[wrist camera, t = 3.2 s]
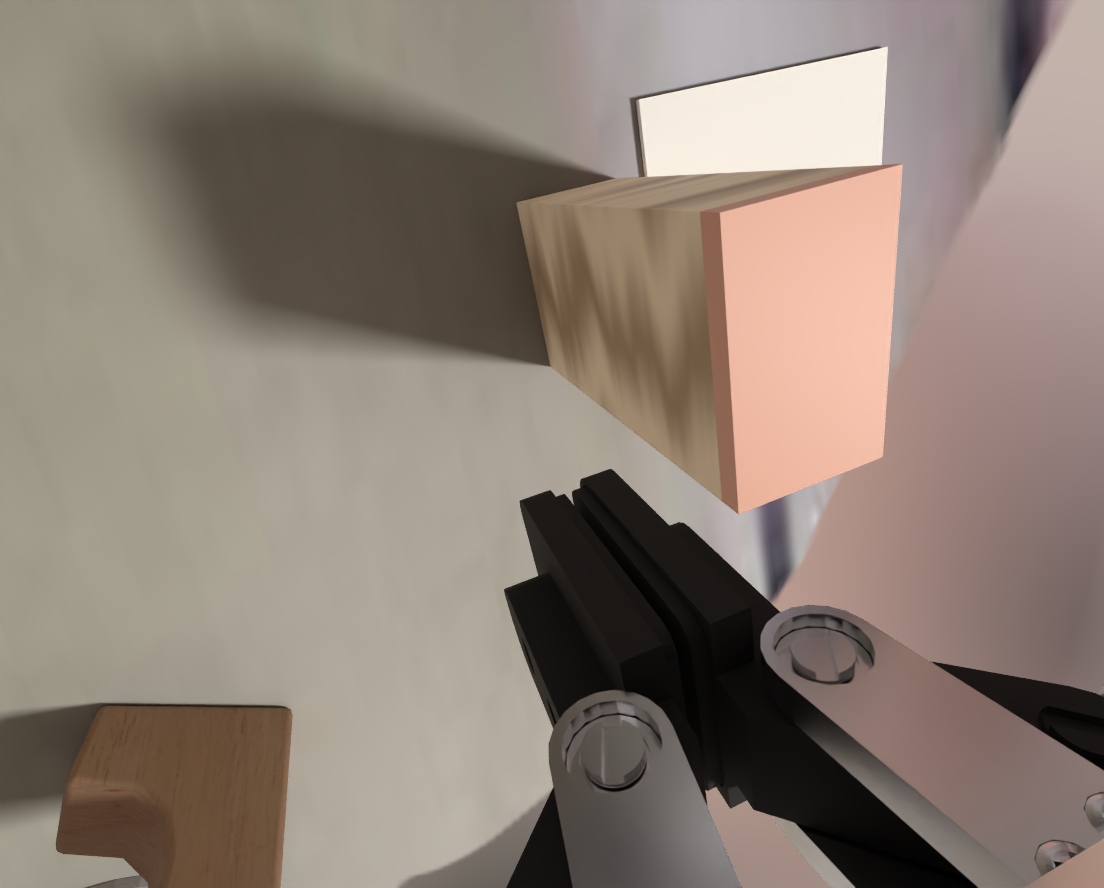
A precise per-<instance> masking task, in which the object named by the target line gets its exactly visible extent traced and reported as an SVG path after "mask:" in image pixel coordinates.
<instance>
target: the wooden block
mask: <svg viewBox="0 0 1104 888" xmlns="http://www.w3.org/2000/svg"><path fill="white" fill-rule="evenodd" d="M291 729H292V713H291V710H290V709H288V708H256V707H175V706H105V707H101V708H100V709H99V711H98V712H97V713H96V714H95V716H94V718H93V721H92V723H91V725H90V727H89V730H88V732H87V734H86V736H85V739H84V741H83V743H82V745H81V747H80V750H79V752H78V754H77V756H76V759H75V761H74V763H73V765H72V768H71V770H70V772H69V774H68V777H67V779H66V782H65V789H64V795H63V801H62V808H61V814H60V820H59V827H58V833H57V839H56V849H57V851H58V852H60V853H63V854H74V855H88V856H102V857H116V858H124V859H125V860H126V861H127V862H128V863H129V864H130V865H131V866H132V868H133V869H134V870H135V871H136V872H137V873H138V874H139V875H140V876H141V877H142V878H143V879H144V880H145V881H146V882H147V883H148V888H280V886H281V872H282V858H283V843H284V828H285V814H286V799H287V784H288V770H289V756H290V743H291Z"/></svg>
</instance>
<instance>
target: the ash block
mask: <svg viewBox="0 0 1104 888" xmlns="http://www.w3.org/2000/svg"><path fill="white" fill-rule="evenodd" d="M902 166H903V164H893V165H873V166H853V167H833V168H814V169H794V170H774V171H754V172H734V173H714V174H694V175H674V176H654V177H634V178H615V179H611V180H607V181H603V182H599V183H594V184H590V185H586V186H582V187H578V188H574V189H570V190H565V191H561V192H557V193H553V194H549V195H545V196H541V197H536V198H532V199H528V200H524V201H520V202H516V204H517V209H518V213H519V218H520V223H521V228H522V233H523V237H524V242H525V247H526V252H527V257H528V261H529V266H530V271H531V276H532V281H533V285H534V290H535V295H536V300H537V305H538V309H539V314H540V319H541V324H542V329H543V333H544V338H545V343H546V348H547V352H548V357H549V362H550V367H552V368H553V369H554V370H555V371H557V372H558V373H559V374H560V375H562V376H563V377H564V378H566V379H567V380H568V381H569V382H571V383H572V384H573V385H575V386H576V387H577V388H578V389H580V390H581V391H582V392H583V393H585V394H586V395H587V396H589V397H590V398H591V399H592V400H594V401H595V402H596V403H597V404H599V405H600V406H601V407H603V408H604V409H605V410H606V411H608V412H609V413H610V414H611V415H613V416H614V417H615V418H617V419H618V420H619V421H620V422H622V423H623V424H624V425H625V426H627V427H628V428H629V429H631V430H632V431H633V432H634V433H636V434H637V435H638V436H640V437H641V438H642V439H643V440H645V441H646V442H647V443H648V444H650V445H651V446H652V447H654V448H655V449H656V450H657V451H659V452H660V453H661V454H662V455H664V456H665V457H666V458H668V459H669V460H670V461H671V462H673V463H674V464H675V465H676V466H678V467H679V468H680V469H682V470H683V471H684V472H685V473H687V474H688V475H689V476H690V477H692V478H693V479H694V480H696V481H697V482H698V483H699V484H701V485H702V486H703V487H705V488H706V489H707V490H708V491H710V492H711V493H712V494H713V495H715V496H716V497H717V498H719V499H720V500H721V501H722V502H724V503H725V504H726V505H727V506H729V507H730V508H731V509H733V510H734V511H735V512H736V513H738V514H741V513H743V512H746V511H748V510H751V509H753V508H756V507H758V506H761V505H763V504H766V503H768V502H771V501H773V500H776V499H778V498H781V497H783V496H786V495H788V494H791V493H793V492H796V491H798V490H801V489H803V488H806V487H808V486H811V485H813V484H816V483H818V482H821V481H823V480H826V479H828V478H831V477H833V476H836V475H838V474H841V473H843V472H846V471H848V470H851V469H853V468H856V467H858V466H861V465H863V464H866V463H868V462H871V461H873V460H876V459H878V458H881V457H883V445H884V430H885V416H886V401H887V386H888V372H889V357H890V342H891V328H892V313H893V298H894V283H895V269H896V254H897V239H898V225H899V210H900V195H901V181H902Z"/></svg>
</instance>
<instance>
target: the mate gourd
mask: <svg viewBox="0 0 1104 888" xmlns="http://www.w3.org/2000/svg"><path fill="white" fill-rule="evenodd" d="M89 888H148V883H147V882H146V881H145V880H144V879H143V878H142V877H141V876H134V877H128V878H122V879H116V880H113V881H109V882H106V883H102V884H99V885H95V886H92V887H89Z"/></svg>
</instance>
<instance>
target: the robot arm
mask: <svg viewBox="0 0 1104 888" xmlns="http://www.w3.org/2000/svg"><path fill="white" fill-rule="evenodd" d="M572 497H573V503H574V505H573V504H572V502H571V501H570V500H569V499H568V497H567V496H566V495H565V494H562V495H560V496H557V497H555V495H554V494H553V493H552V491H551V490H549V491H546V492H543V493H540V494H537V495H535V496H532V497H529V498H526V499H523V500H520V508H521V512H522V516H523V520H524V523H525V527H526V531H527V535H528V538H529V542H530V546H531V550H532V553H533V557H534V561H535V565H536V568H537V572H538V576H537V577H534V578H532V579H529V580H527V581H524V582H521V583H519V584H516V585H514V586H511V587H508V588H506V589H504V592H505V596H506V600H507V603H508V607H509V610H510V613H511V616H512V620H513V623H514V626H515V629H516V632H517V635H518V638H519V641H520V644H521V647H522V650H523V653H524V656H525V658H526V661H527V664H528V667H529V669H530V672H531V674H532V677H533V679H534V682H535V684H536V687H537V689H538V692H539V694H540V697H541V699H542V702H543V704H544V707H545V709H546V712H547V714H548V717H549V719H550V721H551V724H552V726H553V732H552V735H551V738H550V741H549V765H550V770H551V775H552V781H553V786H554V787H553V789H552V791H551V793H550V795H549V798H548V800H547V802H546V804H545V806H544V808H543V811H542V813H541V815H540V817H539V819H538V821H537V823H536V825H535V828H534V830H533V832H532V834H531V836H530V838H529V840H528V843H527V845H526V847H525V849H524V851H523V853H522V856H521V858H520V860H519V862H518V864H517V866H516V868H515V871H514V873H513V875H512V877H511V879H510V881H509V883H508V885H507V888H742V886H741V884H740V882H739V879H738V877H737V875H736V872H735V870H734V868H733V865H732V863H731V861H730V859H729V856H728V854H727V852H726V849H725V847H724V845H723V842H722V840H721V837H720V835H719V833H718V830H717V828H716V826H715V823H714V821H713V819H712V816H711V814H710V812H709V810H708V807H707V800H706V793H705V790H707V791H708V790H710V789H712V788H714V787H717V788H718V790H719V792H720V793H721V795H722V796H723V798H724V799H725V801H726V803H727V804H728V806H729V807H730V808H732V807H735V806H736V805H738V804H740V803H742V802H744V801H746V800H747V801H748V802H749V804H750V805H751V806H752V808H753V809H754V810H756V811H760V812H763V813H766V814H769V815H772V816H773V817H774V820H775V823H776V824H777V825H778V827H779V829H780V830H781V831H782V833H783V834H784V836H785V837H786V838H787V840H788V841H789V842H790V843H791V844H792V845H793V846H794V847H795V848H796V850H797V851H798V852H799V853H800V854H801V855H802V856H803V857H804V859H805V860H806V861H807V862H808V863H809V864H810V865H811V866H812V867H813V868H814V870H815V871H816V872H817V873H818V874H819V875H820V876H821V878H822V879H823V880H824V881H825V882H826V883H827V884H828V885H829V886H830V888H1104V685H1102V686H1101V690H1100V693H1099V695H1098V694H1096V693H1092V692H1089V691H1085V690H1081V689H1077V688H1073V687H1070V686H1064V685H1059V684H1053V683H1048V682H1042V681H1037V680H1031V679H1026V678H1019V677H1014V676H1008V675H1003V674H998V673H992V672H987V671H981V670H975V669H970V668H964V667H959V666H953V665H948V664H942V663H936V662H931V661H929V660H927V659H926V658H924V657H922V656H921V655H919V654H918V653H916V652H914V651H913V650H911V649H910V648H908V647H907V646H905V645H903V644H902V643H900V642H899V641H897V640H895V639H894V638H892V637H891V636H889V635H888V634H886V633H884V632H883V631H881V630H880V629H878V628H876V627H875V626H873V625H871V624H870V623H868V622H867V621H865V620H864V619H862V618H859V617H858V616H856V615H854V614H851V613H849V612H847V611H845V610H840V609H837V608H833V607H829V606H818V605H817V606H816V605H805V606H799V607H792V608H790V609H787V610H785V611H782V612H779V611H778V610H777V609H776V608H775V607H774V606H773V605H772V604H771V603H770V602H769V601H768V600H767V599H766V598H765V597H764V596H762V595H761V594H760V593H759V592H758V591H757V590H756V589H755V588H754V587H753V586H752V585H751V584H750V583H749V582H747V581H746V580H745V579H744V578H743V577H742V576H741V575H740V574H739V573H738V572H737V571H736V570H735V569H734V568H733V567H731V566H730V565H729V564H728V563H727V562H726V561H725V560H724V559H723V558H722V557H721V556H720V555H719V554H718V553H717V552H715V551H714V550H713V549H712V548H711V547H710V546H709V545H708V544H707V543H706V542H705V541H704V540H703V539H702V538H700V537H699V536H698V535H697V534H696V533H695V532H694V531H693V530H692V529H691V528H690V527H688V526H687V525H686V524H684V523H680V522H678V523H676V524H673V525H670V526H669V525H668V524H667V523H666V522H665V521H664V520H663V519H662V518H661V517H660V516H659V515H658V514H657V513H656V512H655V511H654V510H653V509H652V508H651V507H650V506H649V505H648V504H647V503H646V502H645V501H644V500H643V499H642V498H641V497H640V496H639V495H638V494H637V493H636V492H635V491H634V490H633V489H632V488H631V487H630V486H629V485H628V484H627V483H626V482H625V481H624V480H623V479H622V478H621V477H620V476H619V475H618V474H616V473H615V472H614V471H613V470H612V469H609V470H606V471H603V472H600V473H597V474H594V475H591V476H589V477H586V478H583V479H581V481H580V488H579V489H577V490H574V491H573V492H572Z"/></svg>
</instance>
